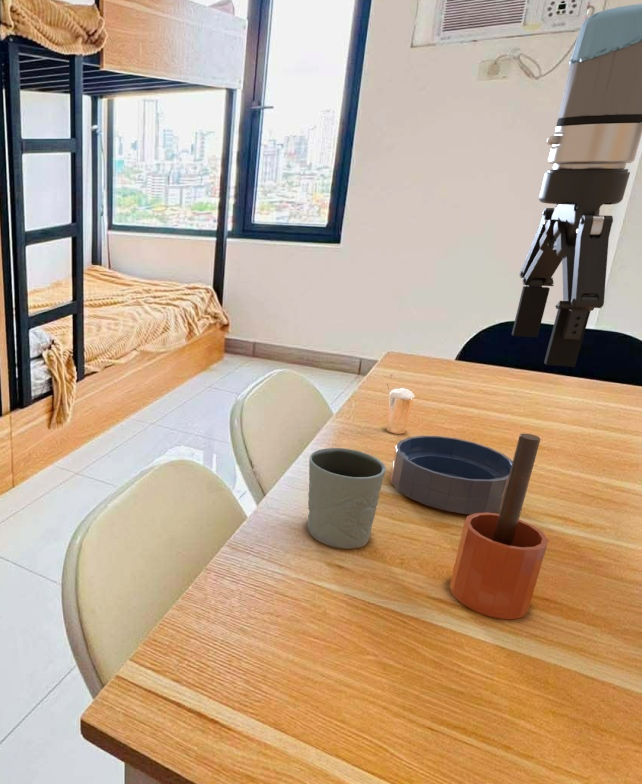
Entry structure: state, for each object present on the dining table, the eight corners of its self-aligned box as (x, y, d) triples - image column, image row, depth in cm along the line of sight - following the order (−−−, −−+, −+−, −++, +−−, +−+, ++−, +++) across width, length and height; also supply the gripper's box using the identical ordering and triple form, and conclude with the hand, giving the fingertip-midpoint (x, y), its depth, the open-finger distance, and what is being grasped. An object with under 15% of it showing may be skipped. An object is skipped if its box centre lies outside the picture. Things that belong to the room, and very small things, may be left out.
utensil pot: (531, 594, 81) (551, 527, 77) (523, 629, 75) (543, 558, 72) (457, 569, 86) (472, 505, 83) (443, 599, 80) (459, 532, 77)
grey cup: (376, 557, 89) (389, 482, 85) (300, 544, 92) (310, 471, 88) (369, 521, 98) (381, 452, 94) (300, 510, 101) (309, 443, 97)
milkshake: (381, 424, 134) (388, 380, 130) (409, 429, 131) (417, 384, 128) (377, 431, 130) (384, 386, 127) (405, 437, 127) (414, 390, 124)
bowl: (514, 487, 107) (523, 453, 105) (498, 529, 95) (508, 492, 93) (404, 459, 118) (410, 428, 116) (377, 494, 106) (383, 459, 104)
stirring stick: (499, 592, 80) (541, 436, 73) (496, 600, 79) (539, 441, 72) (481, 586, 82) (520, 431, 74) (478, 594, 80) (518, 437, 73)
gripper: (516, 166, 82) (481, 324, 89) (589, 168, 60) (535, 376, 68) (586, 165, 80) (544, 328, 87) (688, 167, 58) (621, 383, 65)
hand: (540, 349), depth 77 cm, fingers open, 13 cm apart
